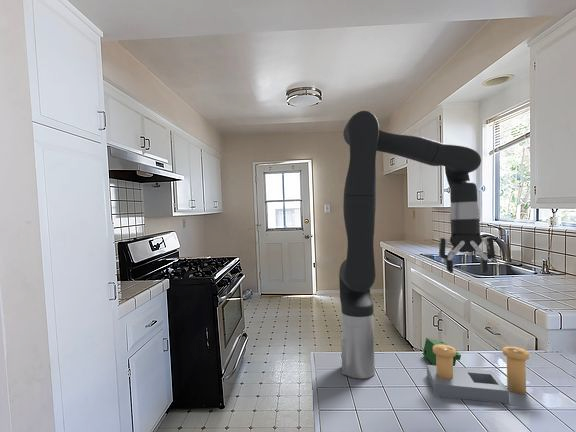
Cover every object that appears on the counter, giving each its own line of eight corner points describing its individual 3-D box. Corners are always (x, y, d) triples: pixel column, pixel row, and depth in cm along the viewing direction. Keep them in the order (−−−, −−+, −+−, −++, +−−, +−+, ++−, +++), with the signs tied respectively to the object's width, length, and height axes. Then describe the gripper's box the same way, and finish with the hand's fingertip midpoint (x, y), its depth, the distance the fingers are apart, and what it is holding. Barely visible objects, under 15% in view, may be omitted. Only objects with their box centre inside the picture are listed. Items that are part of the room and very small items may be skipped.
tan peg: (509, 394, 82) (508, 354, 82) (500, 383, 87) (499, 345, 87) (534, 396, 81) (533, 356, 81) (523, 385, 86) (522, 347, 86)
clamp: (452, 383, 96) (465, 360, 93) (433, 378, 96) (445, 356, 93) (438, 352, 107) (449, 331, 104) (420, 348, 107) (431, 327, 104)
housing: (435, 395, 81) (434, 355, 82) (427, 375, 92) (426, 340, 92) (509, 403, 78) (508, 361, 78) (492, 381, 88) (491, 344, 88)
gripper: (440, 218, 94) (443, 274, 94) (496, 216, 90) (498, 275, 90) (436, 218, 101) (438, 270, 101) (487, 216, 98) (489, 270, 97)
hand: (466, 272), depth 96 cm, fingers open, 8 cm apart
